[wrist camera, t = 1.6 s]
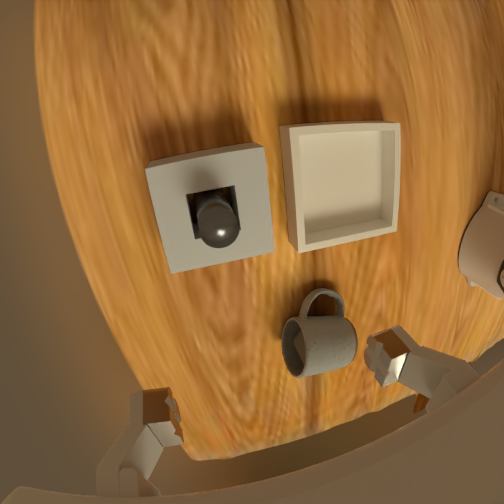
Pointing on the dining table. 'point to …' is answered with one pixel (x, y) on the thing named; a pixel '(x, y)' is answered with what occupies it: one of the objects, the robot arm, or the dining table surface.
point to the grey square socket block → (206, 178)
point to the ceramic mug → (318, 339)
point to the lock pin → (216, 218)
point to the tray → (340, 181)
